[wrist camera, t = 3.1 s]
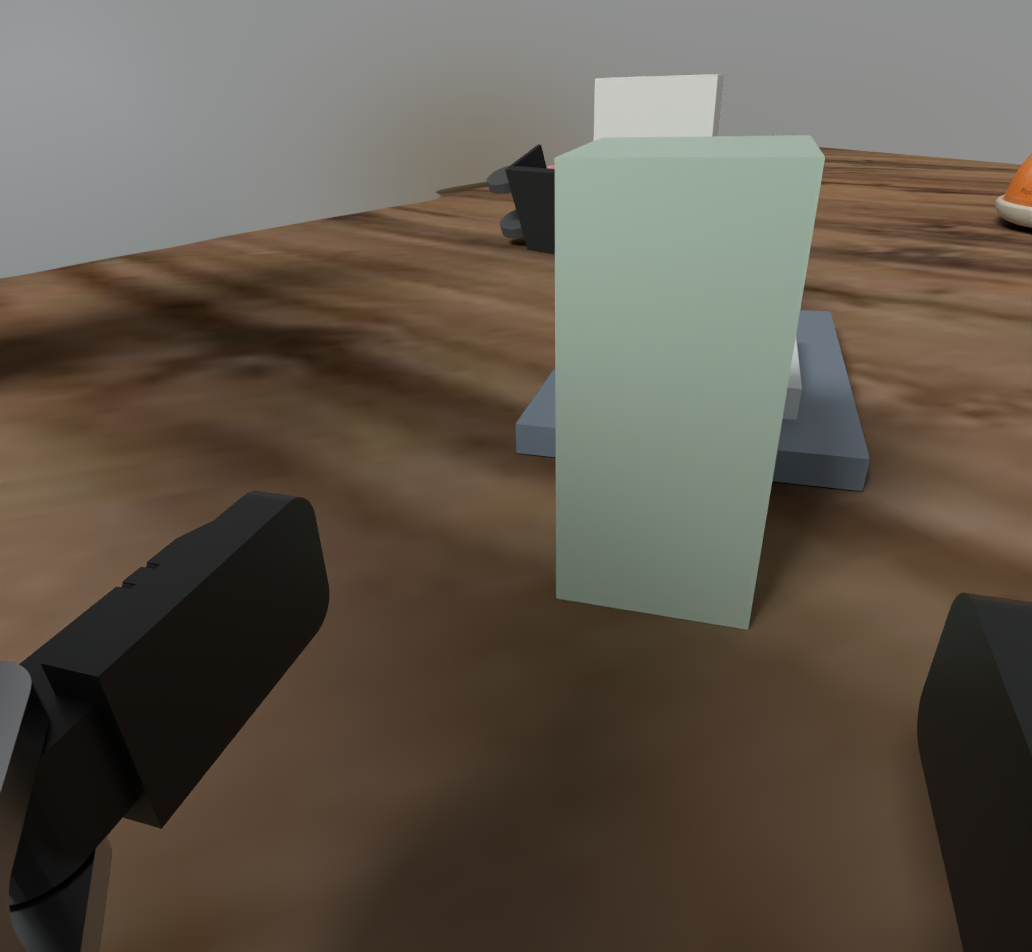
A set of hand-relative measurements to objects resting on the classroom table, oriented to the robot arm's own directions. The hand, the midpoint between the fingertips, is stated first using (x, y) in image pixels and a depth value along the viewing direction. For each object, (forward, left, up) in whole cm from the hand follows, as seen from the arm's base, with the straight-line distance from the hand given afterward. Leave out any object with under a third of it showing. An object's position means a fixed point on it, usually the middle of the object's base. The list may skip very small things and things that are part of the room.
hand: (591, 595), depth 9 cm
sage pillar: (-5, +9, -7) cm, 12 cm away
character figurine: (-35, +38, -7) cm, 52 cm away
